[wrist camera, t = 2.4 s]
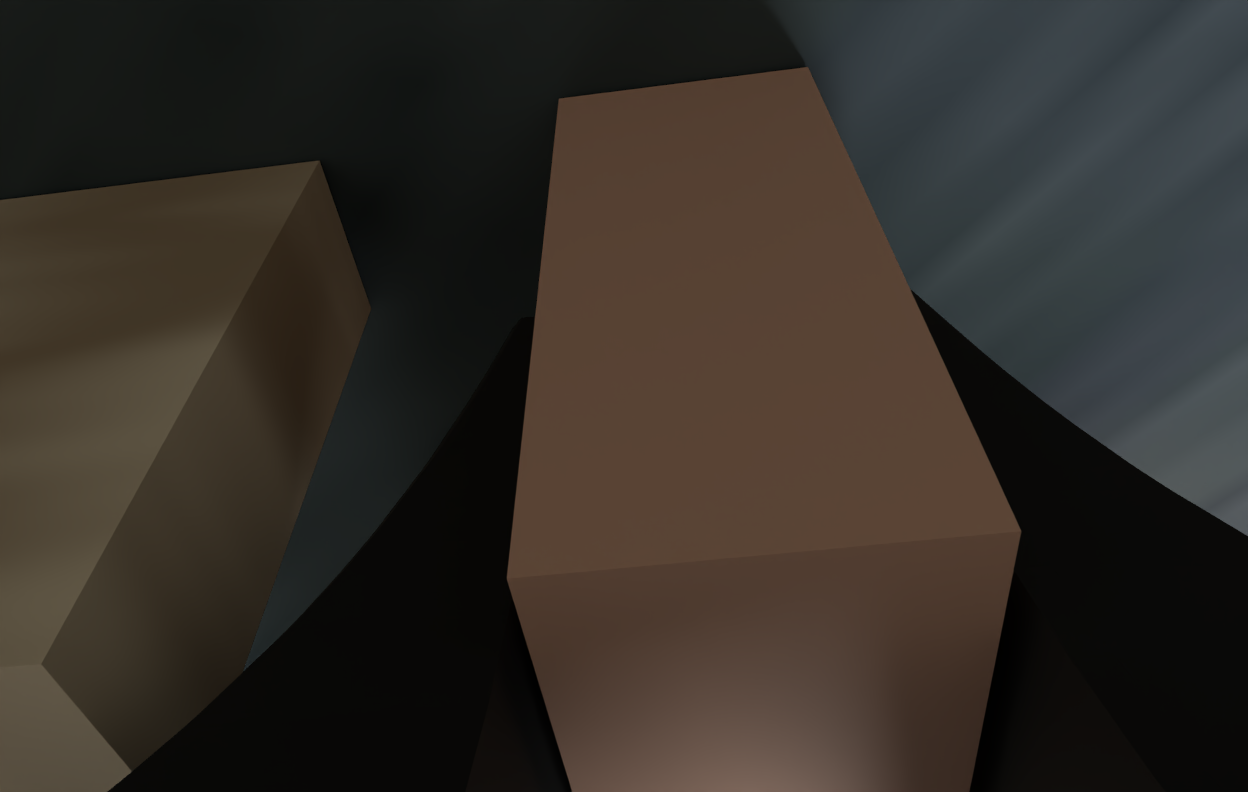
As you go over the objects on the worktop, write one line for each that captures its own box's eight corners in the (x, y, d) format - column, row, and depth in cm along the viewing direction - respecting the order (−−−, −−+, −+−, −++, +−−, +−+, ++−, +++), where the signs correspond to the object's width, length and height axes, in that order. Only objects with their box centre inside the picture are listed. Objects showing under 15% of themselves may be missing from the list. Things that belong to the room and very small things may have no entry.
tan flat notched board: (559, 99, 9) (508, 578, 5) (807, 66, 9) (1023, 529, 4) (672, 759, 17) (697, 1200, 12) (809, 749, 16) (889, 1191, 12)
